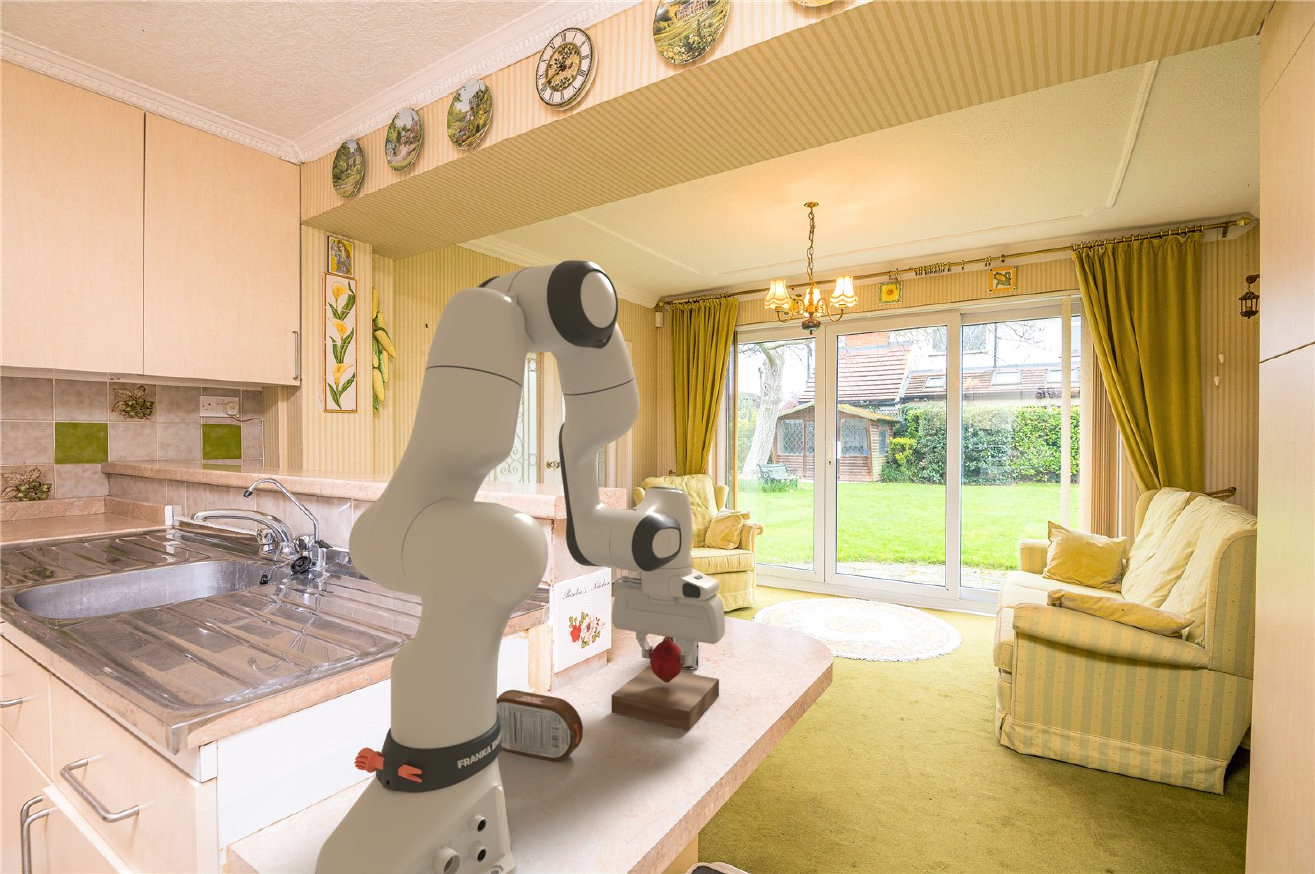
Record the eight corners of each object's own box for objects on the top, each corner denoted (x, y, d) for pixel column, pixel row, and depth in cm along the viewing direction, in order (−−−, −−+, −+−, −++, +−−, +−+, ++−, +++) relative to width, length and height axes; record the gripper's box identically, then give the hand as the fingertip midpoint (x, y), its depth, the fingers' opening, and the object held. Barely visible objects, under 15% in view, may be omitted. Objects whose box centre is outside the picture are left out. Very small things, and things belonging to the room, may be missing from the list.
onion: (680, 690, 99) (680, 642, 99) (647, 687, 100) (647, 640, 100) (685, 677, 105) (685, 631, 105) (653, 674, 106) (653, 629, 106)
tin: (584, 757, 85) (584, 699, 85) (573, 769, 82) (573, 708, 82) (495, 739, 90) (495, 684, 90) (482, 749, 87) (482, 692, 88)
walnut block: (689, 730, 93) (689, 711, 93) (611, 712, 99) (611, 694, 99) (719, 695, 106) (719, 678, 106) (648, 681, 112) (648, 665, 112)
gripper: (605, 577, 104) (605, 657, 104) (715, 590, 95) (715, 677, 95) (622, 570, 110) (622, 645, 110) (728, 582, 101) (728, 664, 101)
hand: (666, 660), depth 102 cm, fingers closed on onion, 6 cm apart
